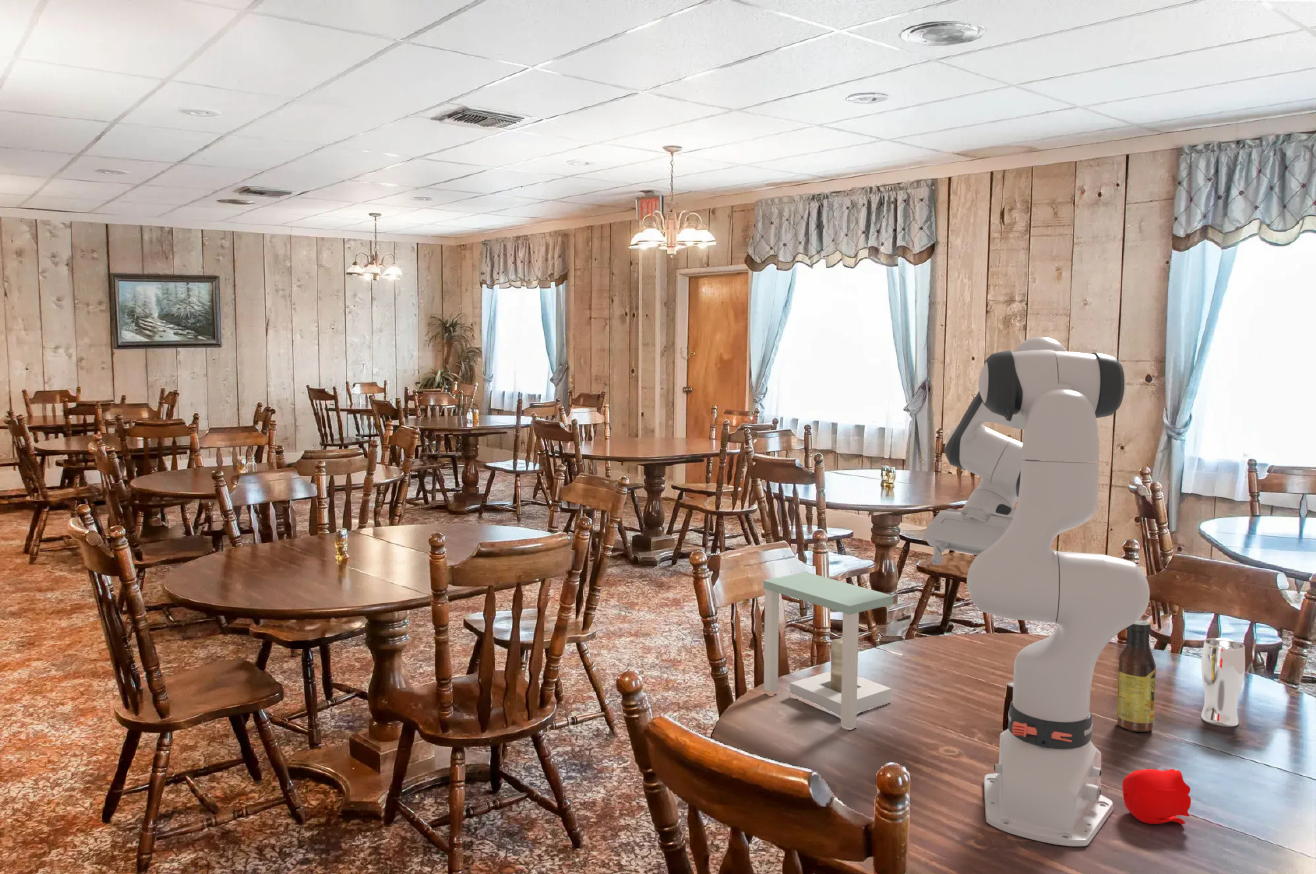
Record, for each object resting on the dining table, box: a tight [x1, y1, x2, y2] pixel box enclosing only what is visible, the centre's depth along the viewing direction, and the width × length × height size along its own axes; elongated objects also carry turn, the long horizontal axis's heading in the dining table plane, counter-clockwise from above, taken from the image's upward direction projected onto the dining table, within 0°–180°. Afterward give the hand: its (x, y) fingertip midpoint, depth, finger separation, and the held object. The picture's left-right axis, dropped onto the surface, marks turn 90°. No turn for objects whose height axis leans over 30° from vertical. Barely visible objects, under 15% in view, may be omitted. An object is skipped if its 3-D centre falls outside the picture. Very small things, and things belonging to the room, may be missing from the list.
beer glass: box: [1200, 637, 1246, 728], centre depth 176 cm, size 7×7×15 cm
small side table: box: [762, 571, 894, 728], centre depth 183 cm, size 12×23×24 cm, turn 36°
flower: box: [1121, 768, 1192, 825], centre depth 139 cm, size 8×8×8 cm
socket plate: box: [789, 670, 892, 716], centre depth 186 cm, size 14×14×3 cm
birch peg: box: [830, 638, 843, 693], centre depth 186 cm, size 4×4×12 cm
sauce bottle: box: [1116, 619, 1157, 733], centre depth 173 cm, size 7×6×20 cm
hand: (954, 567), depth 187 cm, fingers open, 8 cm apart
